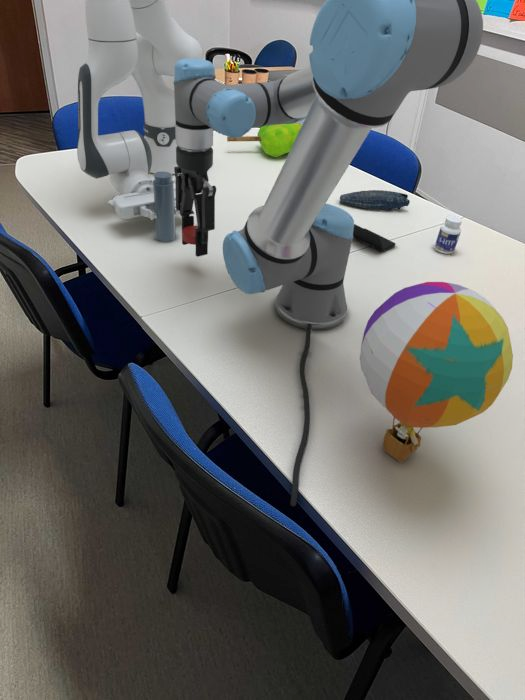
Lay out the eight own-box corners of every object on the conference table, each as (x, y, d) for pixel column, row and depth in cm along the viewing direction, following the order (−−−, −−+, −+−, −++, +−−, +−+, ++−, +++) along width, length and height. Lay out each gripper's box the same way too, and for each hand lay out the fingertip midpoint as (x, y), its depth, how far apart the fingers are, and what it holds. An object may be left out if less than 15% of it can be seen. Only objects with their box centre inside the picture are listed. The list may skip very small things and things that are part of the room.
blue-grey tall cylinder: (167, 231, 137) (164, 169, 126) (179, 238, 134) (177, 175, 124) (152, 236, 134) (148, 173, 124) (164, 244, 131) (161, 179, 121)
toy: (311, 442, 83) (343, 281, 64) (387, 392, 94) (434, 241, 75) (410, 529, 72) (484, 365, 53) (484, 461, 83) (567, 304, 64)
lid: (198, 247, 115) (198, 239, 114) (177, 240, 117) (177, 232, 116) (211, 237, 119) (211, 229, 118) (190, 231, 121) (190, 223, 120)
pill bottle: (433, 251, 139) (442, 220, 133) (435, 243, 143) (444, 213, 137) (453, 256, 138) (464, 225, 132) (454, 247, 142) (465, 217, 136)
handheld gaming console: (399, 237, 140) (392, 215, 132) (388, 260, 139) (379, 239, 130) (362, 229, 146) (352, 207, 138) (350, 250, 145) (340, 230, 137)
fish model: (408, 214, 157) (412, 198, 153) (339, 207, 158) (341, 191, 154) (406, 206, 162) (410, 190, 159) (339, 199, 163) (341, 183, 160)
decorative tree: (224, 117, 189) (303, 117, 195) (224, 146, 196) (301, 145, 201) (231, 131, 176) (316, 130, 181) (230, 162, 182) (313, 160, 188)
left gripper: (104, 188, 131) (125, 209, 122) (177, 176, 141) (202, 195, 132) (107, 211, 135) (127, 233, 126) (178, 199, 145) (202, 218, 136)
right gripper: (235, 158, 101) (230, 263, 116) (188, 130, 112) (189, 229, 127) (201, 164, 98) (201, 271, 112) (156, 134, 109) (161, 235, 123)
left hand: (166, 214), depth 129 cm, fingers closed on blue-grey tall cylinder, 5 cm apart
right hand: (194, 248), depth 120 cm, fingers closed on lid, 5 cm apart
